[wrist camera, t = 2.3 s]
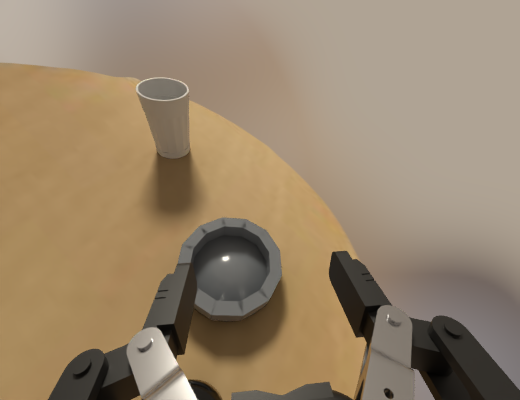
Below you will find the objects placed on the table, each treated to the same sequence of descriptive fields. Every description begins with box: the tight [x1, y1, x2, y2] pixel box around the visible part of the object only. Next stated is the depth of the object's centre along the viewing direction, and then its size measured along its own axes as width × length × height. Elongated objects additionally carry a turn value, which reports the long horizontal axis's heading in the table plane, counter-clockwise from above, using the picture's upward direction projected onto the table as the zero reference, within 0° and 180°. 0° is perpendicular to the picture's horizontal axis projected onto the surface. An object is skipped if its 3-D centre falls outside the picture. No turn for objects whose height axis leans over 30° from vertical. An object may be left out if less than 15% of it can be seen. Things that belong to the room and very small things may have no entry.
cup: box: [136, 78, 190, 159], centre depth 41 cm, size 8×8×12 cm
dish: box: [178, 218, 282, 322], centre depth 30 cm, size 13×13×3 cm
